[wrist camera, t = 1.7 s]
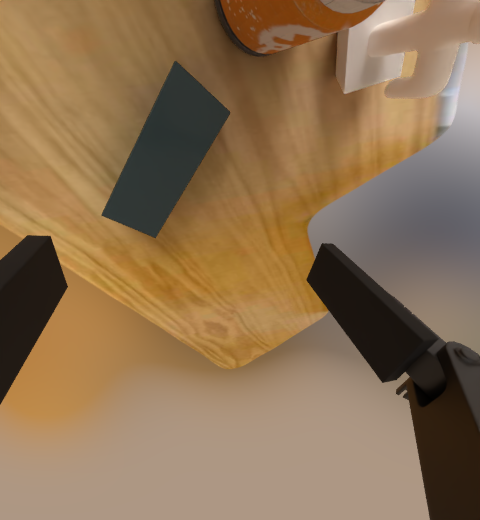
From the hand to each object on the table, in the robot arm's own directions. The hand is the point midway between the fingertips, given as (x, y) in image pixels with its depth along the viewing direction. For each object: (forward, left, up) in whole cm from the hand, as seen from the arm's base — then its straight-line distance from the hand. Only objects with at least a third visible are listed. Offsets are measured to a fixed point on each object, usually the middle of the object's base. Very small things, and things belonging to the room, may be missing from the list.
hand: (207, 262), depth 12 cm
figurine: (-22, +10, -20) cm, 32 cm away
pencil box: (0, -2, -20) cm, 20 cm away
